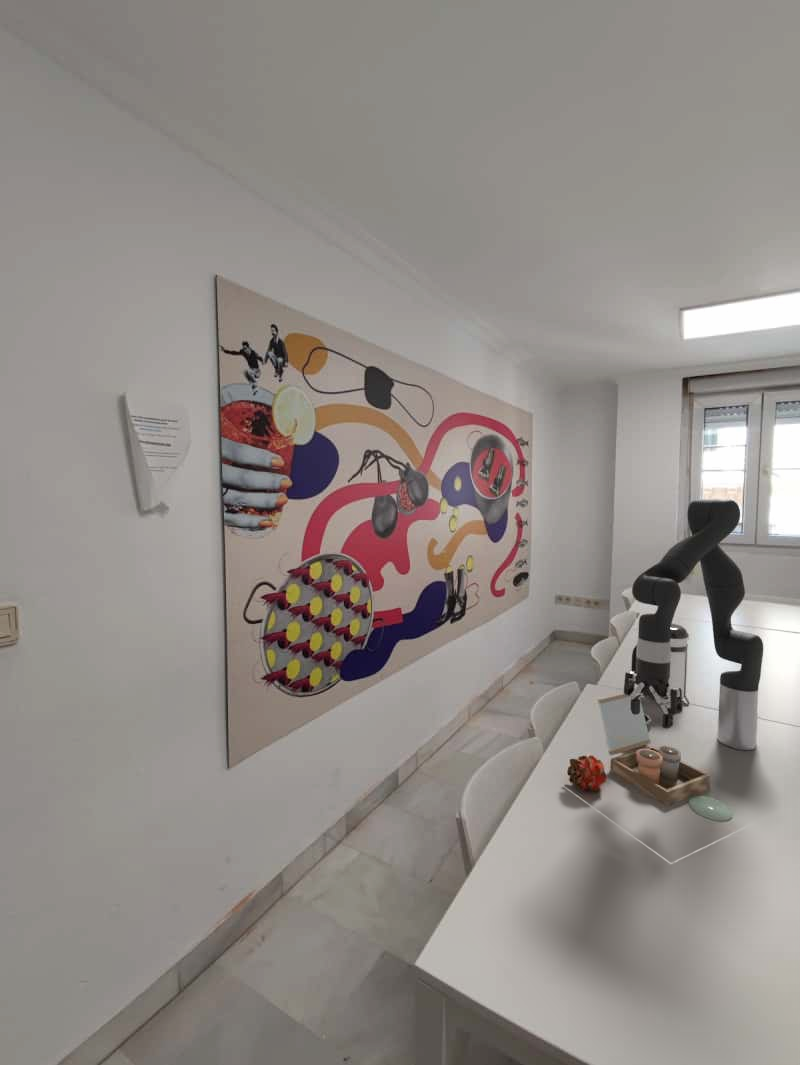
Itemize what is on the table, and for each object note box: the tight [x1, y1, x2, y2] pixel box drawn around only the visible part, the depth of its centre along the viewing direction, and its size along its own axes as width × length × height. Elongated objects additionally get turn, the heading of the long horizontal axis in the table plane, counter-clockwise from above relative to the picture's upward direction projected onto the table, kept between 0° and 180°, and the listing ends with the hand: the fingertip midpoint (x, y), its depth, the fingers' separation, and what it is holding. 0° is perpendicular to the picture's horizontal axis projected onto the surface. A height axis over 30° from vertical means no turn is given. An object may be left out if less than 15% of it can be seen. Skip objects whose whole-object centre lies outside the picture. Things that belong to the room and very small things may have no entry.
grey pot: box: [657, 745, 682, 780], centre depth 124 cm, size 5×5×7 cm
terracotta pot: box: [636, 748, 663, 785], centre depth 120 cm, size 6×6×7 cm
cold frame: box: [609, 745, 711, 807], centre depth 125 cm, size 16×23×12 cm
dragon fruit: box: [567, 754, 607, 793], centre depth 119 cm, size 8×8×12 cm
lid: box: [597, 692, 651, 756], centre depth 131 cm, size 15×14×1 cm
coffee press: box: [630, 622, 690, 706], centre depth 171 cm, size 17×16×30 cm
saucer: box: [688, 795, 733, 822], centre depth 110 cm, size 8×8×1 cm
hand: (650, 720), depth 119 cm, fingers open, 8 cm apart
